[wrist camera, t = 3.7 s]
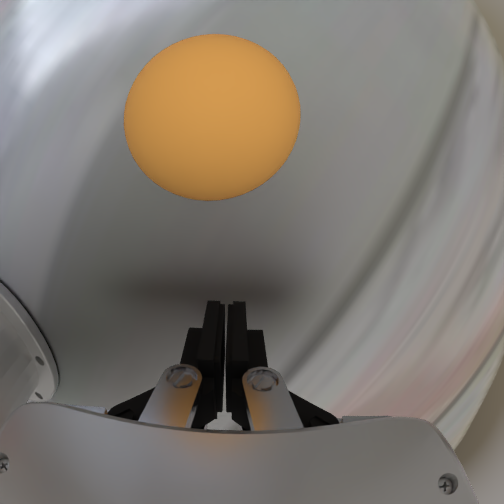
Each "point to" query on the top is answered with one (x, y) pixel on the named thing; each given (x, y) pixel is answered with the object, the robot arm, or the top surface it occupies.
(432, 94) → the top surface
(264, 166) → the ball
